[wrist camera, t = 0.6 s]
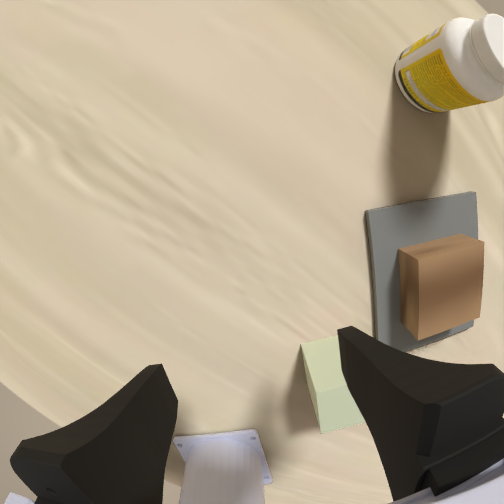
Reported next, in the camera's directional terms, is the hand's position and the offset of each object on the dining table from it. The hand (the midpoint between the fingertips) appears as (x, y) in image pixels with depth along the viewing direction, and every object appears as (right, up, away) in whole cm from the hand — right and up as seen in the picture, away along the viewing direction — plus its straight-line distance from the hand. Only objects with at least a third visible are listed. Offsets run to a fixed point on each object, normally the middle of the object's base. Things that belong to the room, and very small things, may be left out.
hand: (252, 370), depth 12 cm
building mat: (+14, +3, +10) cm, 17 cm away
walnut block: (+14, +3, +10) cm, 17 cm away
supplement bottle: (+13, +18, +7) cm, 23 cm away
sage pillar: (+6, -4, +12) cm, 14 cm away
